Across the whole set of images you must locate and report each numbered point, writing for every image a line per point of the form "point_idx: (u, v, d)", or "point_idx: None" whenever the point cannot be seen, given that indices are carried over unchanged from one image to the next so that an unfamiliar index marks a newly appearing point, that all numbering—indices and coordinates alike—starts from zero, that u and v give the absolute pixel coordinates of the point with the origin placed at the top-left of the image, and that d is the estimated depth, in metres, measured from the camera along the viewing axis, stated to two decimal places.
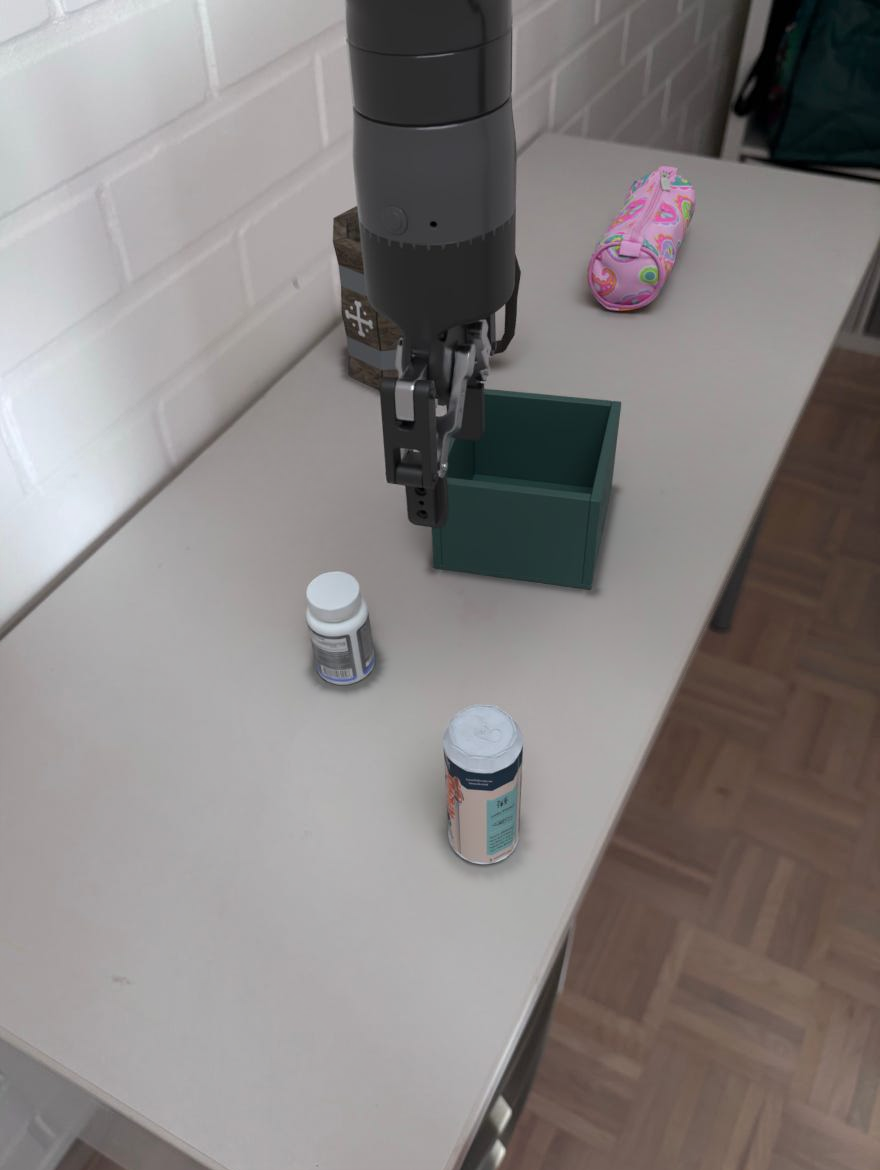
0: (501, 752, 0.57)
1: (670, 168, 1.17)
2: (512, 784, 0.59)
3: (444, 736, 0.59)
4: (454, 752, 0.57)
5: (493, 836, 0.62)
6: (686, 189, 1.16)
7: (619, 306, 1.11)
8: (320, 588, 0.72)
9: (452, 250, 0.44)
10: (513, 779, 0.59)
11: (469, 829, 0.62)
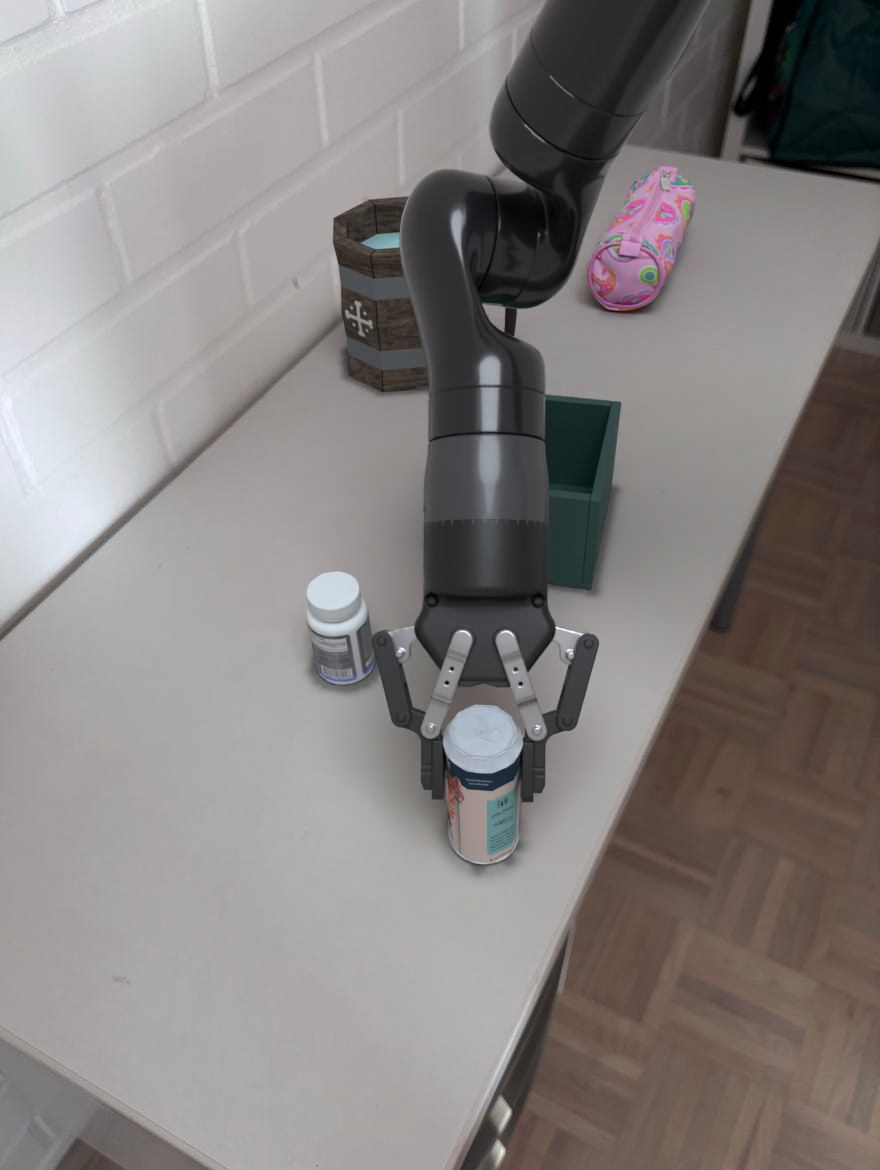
0: (501, 752, 0.57)
1: (670, 168, 1.17)
2: (512, 784, 0.59)
3: (444, 736, 0.59)
4: (454, 752, 0.57)
5: (493, 836, 0.62)
6: (686, 189, 1.16)
7: (619, 306, 1.11)
8: (320, 588, 0.72)
9: (428, 528, 0.58)
10: (513, 779, 0.59)
11: (469, 829, 0.62)
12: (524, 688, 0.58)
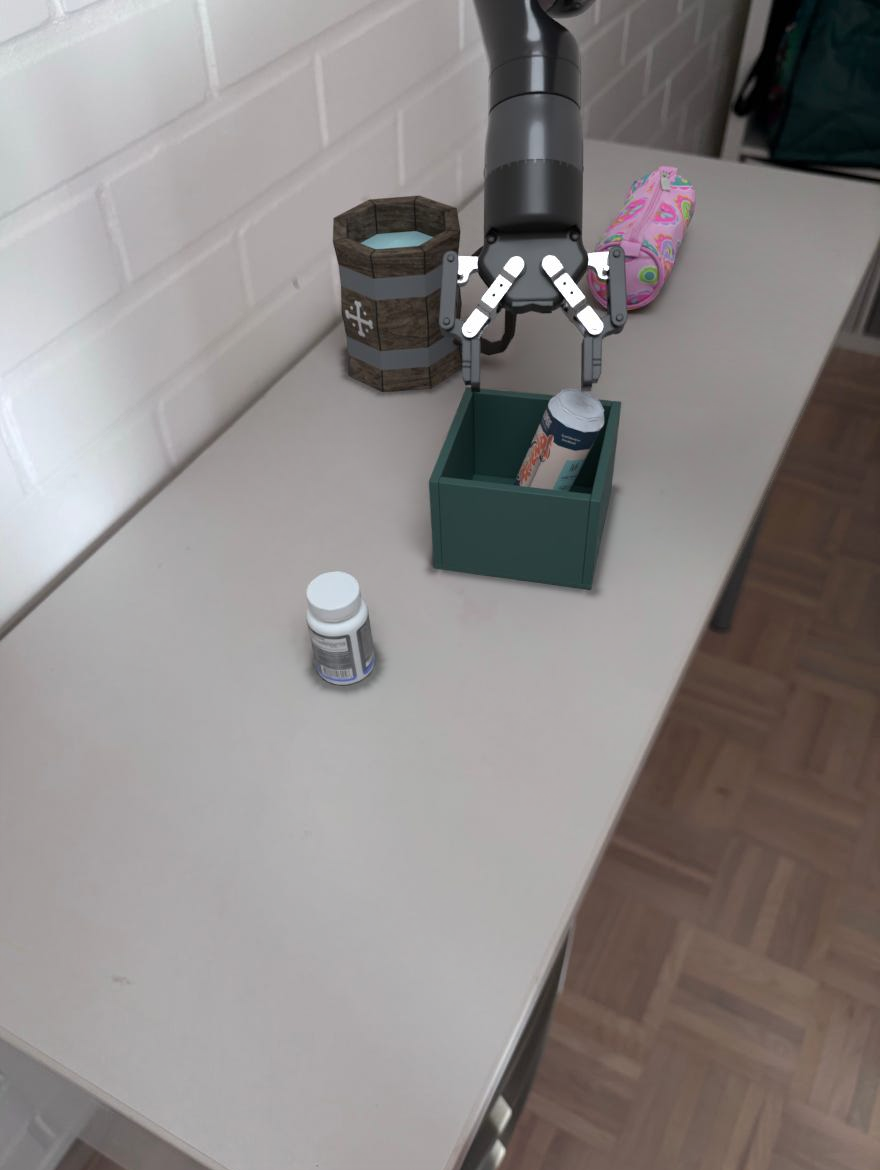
0: (594, 418, 0.78)
1: (670, 168, 1.17)
2: (587, 453, 0.80)
3: (550, 403, 0.79)
4: (560, 411, 0.78)
5: None
6: (686, 189, 1.16)
7: None
8: (320, 588, 0.72)
9: (489, 178, 0.74)
10: (589, 448, 0.80)
11: None
12: (575, 295, 0.74)
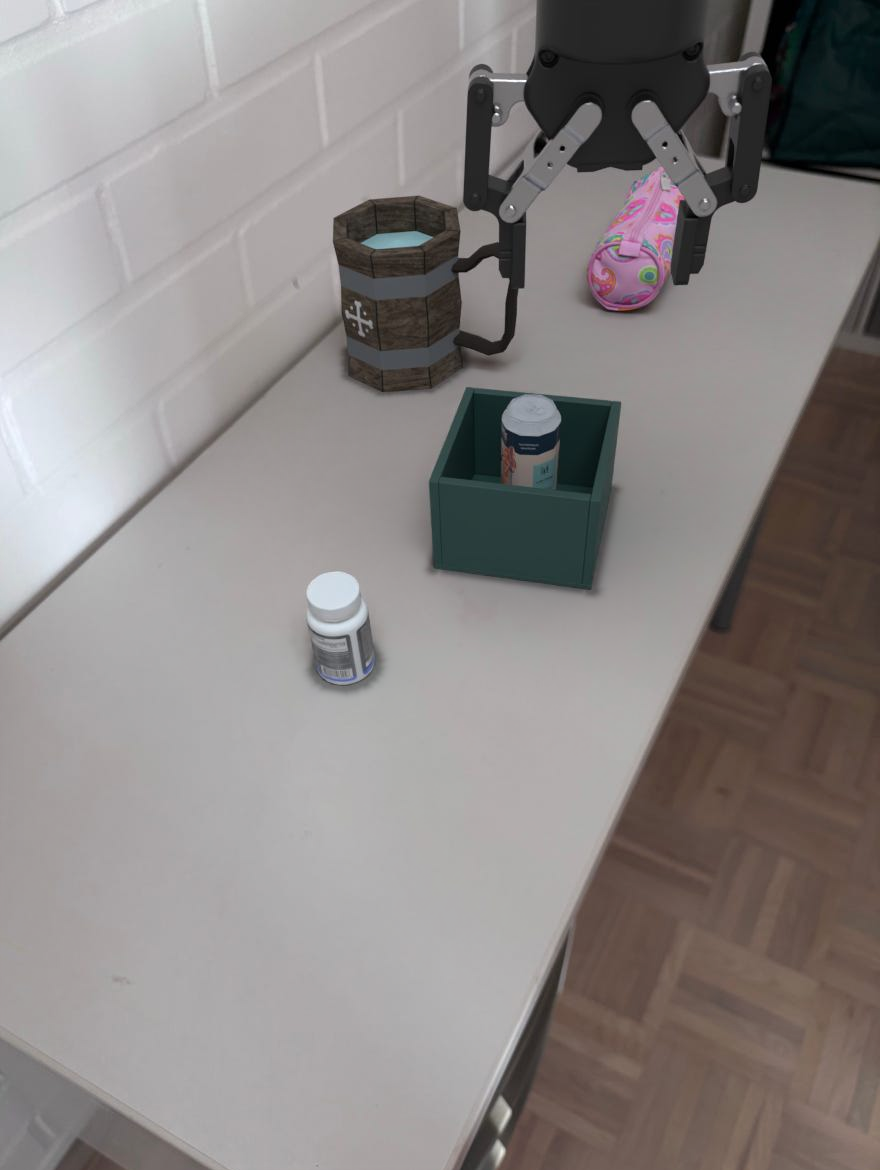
0: (546, 420, 0.78)
1: None
2: (552, 453, 0.80)
3: (503, 415, 0.80)
4: (511, 422, 0.78)
5: None
6: None
7: (619, 306, 1.11)
8: (320, 588, 0.72)
9: None
10: (553, 448, 0.80)
11: None
12: (680, 163, 0.46)
